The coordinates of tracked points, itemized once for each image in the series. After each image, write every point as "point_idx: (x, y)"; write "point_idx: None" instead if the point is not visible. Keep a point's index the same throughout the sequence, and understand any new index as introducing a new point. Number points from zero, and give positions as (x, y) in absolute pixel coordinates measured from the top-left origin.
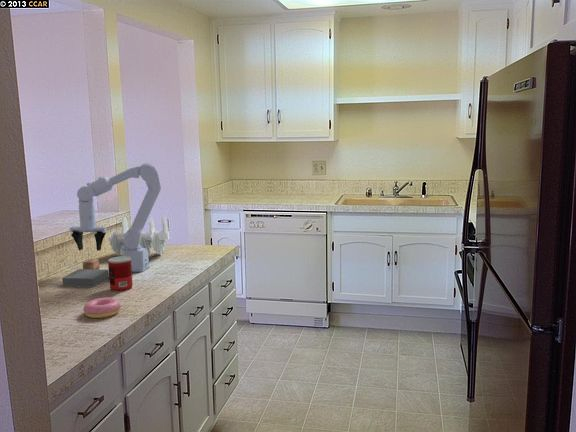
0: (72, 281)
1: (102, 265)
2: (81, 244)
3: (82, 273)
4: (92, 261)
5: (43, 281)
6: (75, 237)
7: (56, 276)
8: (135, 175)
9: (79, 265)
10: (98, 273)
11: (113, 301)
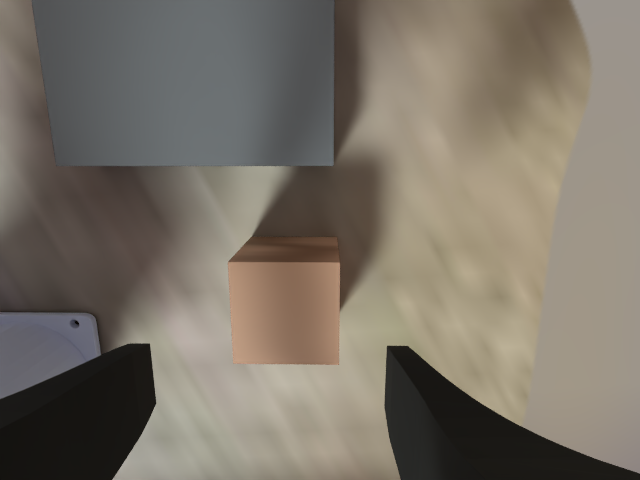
0: None
1: (309, 451)
2: (400, 439)
3: (220, 21)
4: (251, 288)
5: (563, 4)
6: (508, 453)
7: (519, 157)
8: None
9: None
10: (70, 35)
11: None
